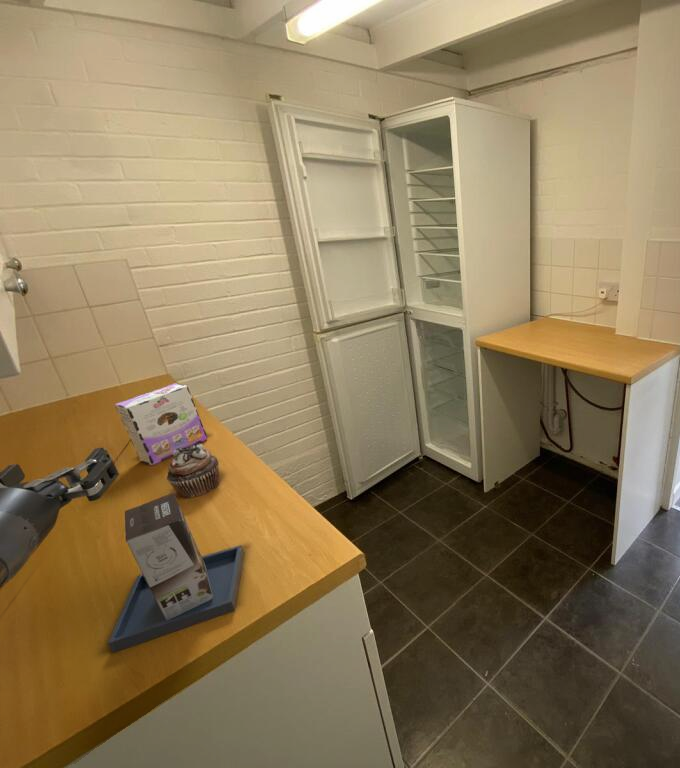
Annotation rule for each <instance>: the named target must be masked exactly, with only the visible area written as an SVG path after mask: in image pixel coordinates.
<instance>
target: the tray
mask: <svg viewBox="0 0 680 768" xmlns="http://www.w3.org/2000/svg"><path fill="white" fill-rule="evenodd" d="M201 556H202V555H201ZM244 558H245V550H244V548H243V546H242V544H240V545H237V546H232V547H229V548H226V549H223V550H220V551H216V552H213V553H209V554H206V555H203V556H202V559H203V561H204V563H205V566H206V569H207V574H208V578H209V582H210V586H211V590H212V594H213V598H212V599H211V600H209V601H207V602H205V603H203V604H201V605H199V606H197V607H195V608H193V609H191V610H189V611H187V612H185V613H183V614H181V615H179V616H177V617H175V618H172V619H170V620H168V621H166V619H165V617H164V615H163V613H162V611H161V609H160V607H159V605H158V603H157V601H156V599H155V597H154V595H153V593H152V591H151V589H150V587H149V585H148V583H147V581H146V580H145V578H144V576H143V574H142V573H141V574H138V575H137V577H136V579H135V580H134V583H133V586H132V588H131V590H130V593H129V595H128V596H127V598H126V601H125V604H124V606H123V608H122V610H121V613H120V614H119V617H118V619H117V621H116V623H115V625H114V628H113V630H112V633H111V635H110V637H109V639H108V641H107V645H108V646H109V648H110V650H111V652H112V653H116V652H120V651H122V650H125V649H128V648H130V647H134V646H136V645H140V644H143V643H146V642H148V641H151V640H154V639H157V638H160V637H163V636H165V635H168V634H172V633H174V632H177V631H180V630H183V629H186V628H189V627H192V626H194V625H198V624H200V623H203V622H206V621H209V620H212V619H215V618H217V617H218V618H219V617H221V616H223V615H227V614H230V613H232V612H235V611H236V607H237V601H238V595H239V588H240V583H241V577H242V571H243V564H244Z"/></svg>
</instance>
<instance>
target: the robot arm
mask: <svg viewBox="0 0 680 768" xmlns="http://www.w3.org/2000/svg"><path fill="white" fill-rule="evenodd" d="M84 471H86V472H87V474H86V476H85V477H81V475H80V474H81V473H83V472H84ZM119 475H120V472H119V470H118V468H117V466H116V464H115V462H114V459H113V458H112V457H111V456H110V453H109V451H108V449H105V448H104V447H97V448H94V449H93V451H92V452H91V453H90V454H89V455H88V456H87V457H86V458H85V459H84V461H83V462H82V463H79V464H78V465H76V466H73V467H68V466H66V467H63V468H61V469H59V470H56V471H54V472H53V473H50V474H48V475H46V476H44V477H42V478H37V479H34V480H32V481H25V482H23V481H24V480H25V477H26V474H25V472H24V471H23V469H22V468H21V466H20V465H19V464H18V463H14V464H10V465H7V466H6V467H5V468H4V469H3V470H1V471H0V591H2V589H3V588H4V587H5V586H6V585H7V584H8V583H9V582H10V581H11V580H12V579H13V578H14V577H15V576H16V575H18V573H19V572H20V571H21V570H22V569H23V567H24V566H25V565H26V564H27V563H28V561H29V560H30V558H31V557H32V556H33V555H34V553H35V552H36V551H37V550H38V548H39V547H40V546H41V545H42V543H43V542H44V540H45V539H46V538H47V537H48V535H49V534H50V533H51V531H52V530H53V528H54V527H55V526H56V524H57V520H58V518H59V517H58V516H59V512H60V510H61V509H62V508H64V507H65V506H66V505H68V504H70V503H71V502H72V500H73V499H74V500H75V499H79V498H84V497H86V498H87V500H88V502H94V501H98V500H99V499H101V498H102V497H103V496H104V494H105V493H106V492H107V491H108V490H109V488H111V486H112V485H113V483H114V482H115V481H116V479H117V478H118V477H119ZM63 478H65V480H66V481H67V483H68V485H69V486H68V485H66V484H65V483H63V482H62V481H61V479H63Z"/></svg>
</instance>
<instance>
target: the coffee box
mask: <svg viewBox="0 0 680 768" xmlns="http://www.w3.org/2000/svg"><path fill="white" fill-rule="evenodd" d="M124 524H125V525H124V529H125V542H126V543H127V546H128V547H129V550H130V552H131V553H132V556H133V558H134V560H135V561H136V563H137V565H138V568H139V569H140V572H141V575H142V574H143V576H144V578H145V580H146V581H147V583H148V585H149V587H150V589H151V591H152V593H153V595H154V597H155V599H156V601H157V603H158V605H159V607H160V609H161V611H162V613H163V615H164V617H165V619H166V621H168V620H170V619H172V618H175V617H177V616H179V615H181V614H183V613H185V612H187V611H189V610H191V609H193V608H195V607H197V606H199V605H201V604H203V603H205V602H207V601H209V600H211V599H212V598H213V594H212V590H211V586H210V582H209V578H208V574H207V569H206V566H205V563H204V561H203V559H202V554H201V551H200V550H199V546H198V545H197V542H196V541H195V538H194V535H193V534H192V532H191V529H190V527H189V525H188V522H187V519H186V518H185V515H184V513H183V511H182V508H181V505H180V504H179V501H178V499H177V497H176V494H175V493H174V492H173V493H170V494H167V495H164V496H161V497H158V498H156V499H153V500H150V501H148V502H144V503H143V504H141V505H138V506H135V507H133V508H130V509H126V510H125V511H124Z"/></svg>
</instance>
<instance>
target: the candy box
mask: <svg viewBox="0 0 680 768" xmlns="http://www.w3.org/2000/svg"><path fill="white" fill-rule="evenodd" d="M114 406H115V408H116V410H117V412H118V415H119V417H120V419H121V421H122V423H123V426H124V428H125V430H126V432H127V435H128V436H129V439H130V441H131V443H132V445H133V447H134V448H133V449H134V450H135V453H136V454H137V456H138V459H139V460H140V461H141V462H143V463H145V464H148V465H149V466H155V465H157V464H160V463H161V462H163V461H165V460H167V459H169V458H171V457H174V456H173V451H175V450H176V449H177V448H184V447H187V446H189V445H192V444H195V443H200V444H201V443H203V442H205V441H206V440H208V439H209V437H208V434H207V433H206V430H205V427H204V425H203V422H202V420H201V417H200V415H199V412H198V409H197V407H196V404H195V402H194V399H193V397H192V394H191V391H190V389H189V386H188V385H185V384H179V383H176V382H175V383H172V384H169V385H166V386H164V387H161V388H158V389H156V390H152V391H149V392H147V393H144V394H141V395H138V396H135V397H132V398H129V399H127V400H124V401H120V402H118V403H115V404H114Z"/></svg>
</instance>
